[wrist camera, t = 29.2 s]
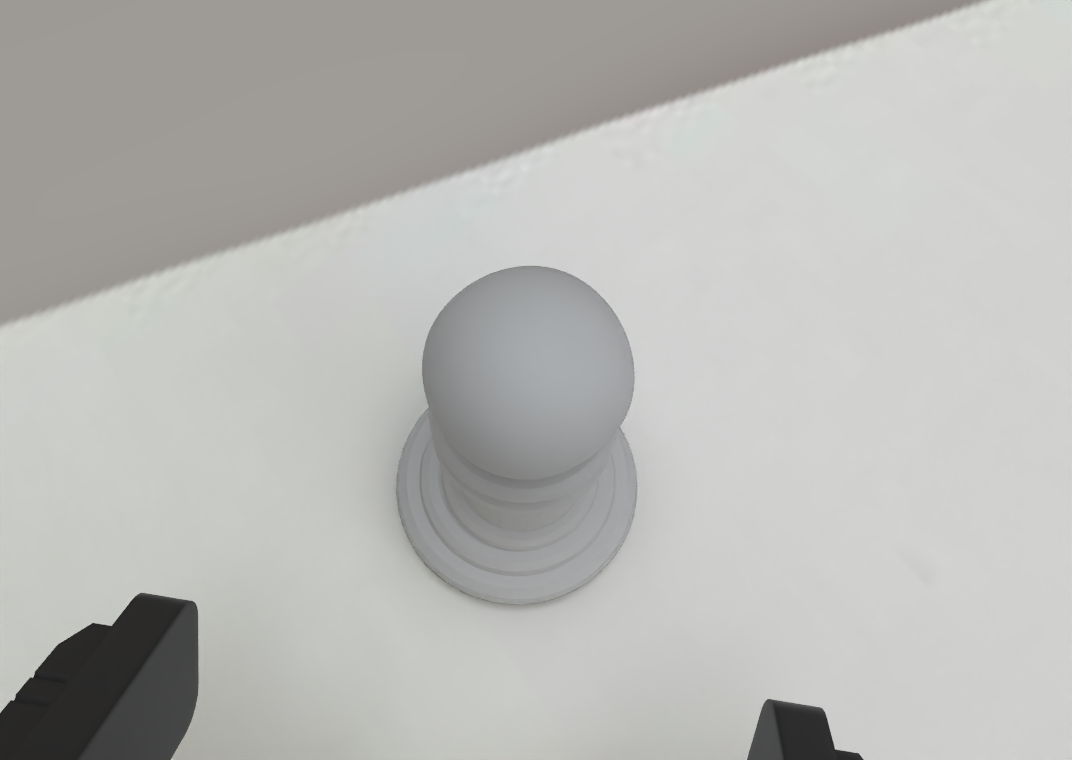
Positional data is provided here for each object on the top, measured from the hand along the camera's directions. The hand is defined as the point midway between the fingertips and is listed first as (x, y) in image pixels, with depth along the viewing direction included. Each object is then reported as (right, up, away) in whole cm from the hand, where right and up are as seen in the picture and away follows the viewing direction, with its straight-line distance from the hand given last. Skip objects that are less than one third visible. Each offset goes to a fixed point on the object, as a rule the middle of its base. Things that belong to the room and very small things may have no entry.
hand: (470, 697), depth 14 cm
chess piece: (0, +2, +9) cm, 9 cm away
